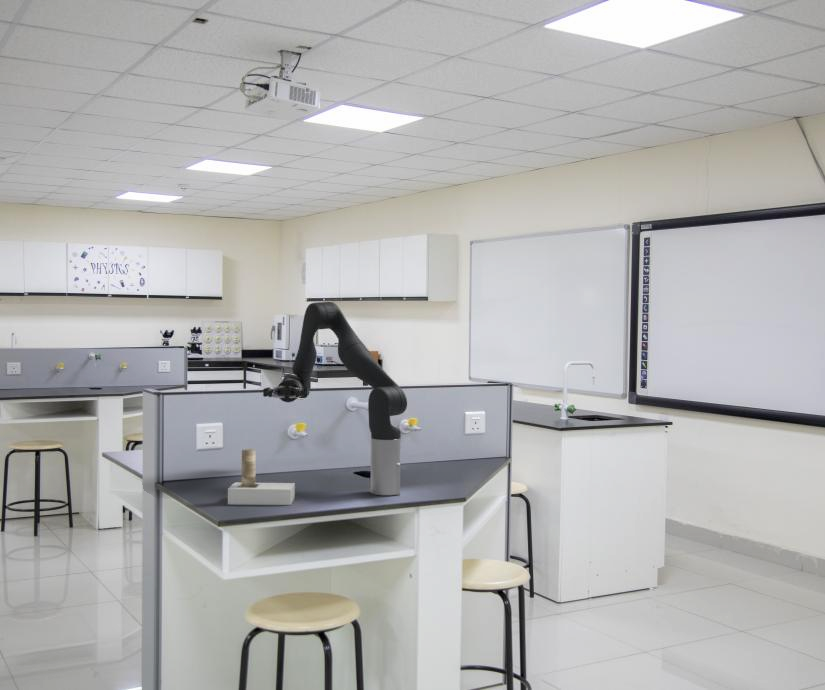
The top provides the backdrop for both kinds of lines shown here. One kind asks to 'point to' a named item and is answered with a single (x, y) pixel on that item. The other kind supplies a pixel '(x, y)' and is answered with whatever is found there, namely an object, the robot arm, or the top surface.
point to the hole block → (262, 494)
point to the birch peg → (248, 468)
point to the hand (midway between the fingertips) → (283, 394)
